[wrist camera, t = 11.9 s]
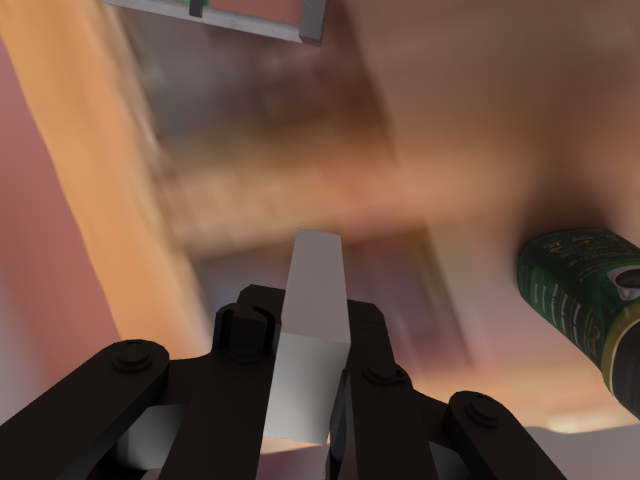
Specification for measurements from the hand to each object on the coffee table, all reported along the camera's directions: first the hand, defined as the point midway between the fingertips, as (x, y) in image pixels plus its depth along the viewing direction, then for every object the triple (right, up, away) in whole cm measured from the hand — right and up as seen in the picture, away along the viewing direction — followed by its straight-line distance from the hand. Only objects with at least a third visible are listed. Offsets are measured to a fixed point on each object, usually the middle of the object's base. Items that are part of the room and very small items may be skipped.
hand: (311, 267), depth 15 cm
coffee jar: (+24, -1, +27) cm, 36 cm away
